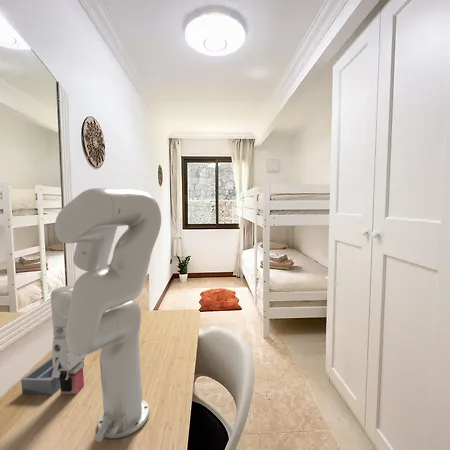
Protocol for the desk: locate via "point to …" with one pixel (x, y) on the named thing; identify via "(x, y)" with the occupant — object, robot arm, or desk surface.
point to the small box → (76, 379)
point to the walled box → (41, 380)
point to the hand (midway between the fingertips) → (72, 384)
